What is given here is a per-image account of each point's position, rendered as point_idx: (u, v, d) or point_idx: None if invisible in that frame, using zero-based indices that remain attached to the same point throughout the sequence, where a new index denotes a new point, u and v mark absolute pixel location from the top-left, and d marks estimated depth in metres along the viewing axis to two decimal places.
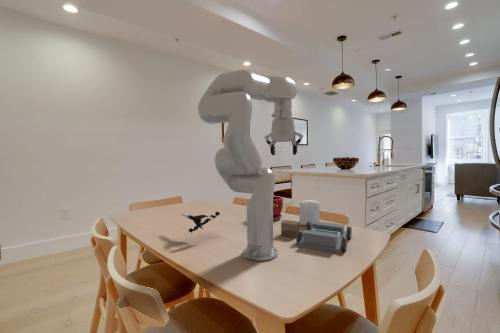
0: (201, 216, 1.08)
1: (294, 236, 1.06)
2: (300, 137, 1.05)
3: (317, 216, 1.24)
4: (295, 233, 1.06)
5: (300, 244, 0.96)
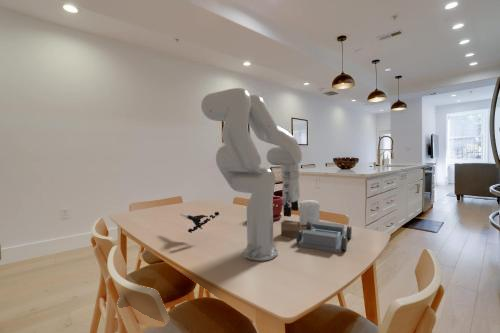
0: (200, 216, 1.08)
1: (294, 236, 1.06)
2: None
3: (317, 216, 1.24)
4: (295, 233, 1.06)
5: (300, 244, 0.96)
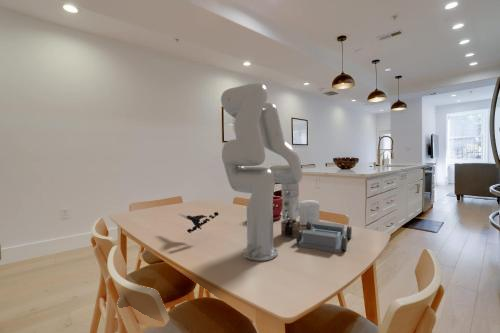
0: (200, 216, 1.07)
1: (294, 236, 1.06)
2: None
3: (317, 216, 1.24)
4: (295, 233, 1.06)
5: (300, 244, 0.96)
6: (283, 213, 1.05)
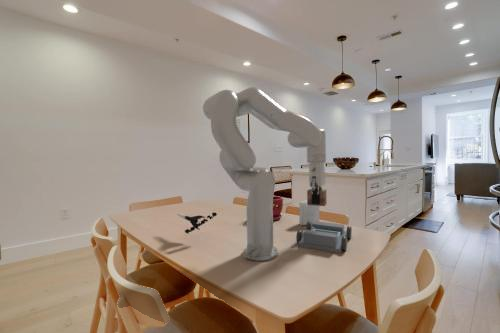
0: (198, 217, 1.07)
1: (322, 204, 1.00)
2: None
3: (317, 216, 1.24)
4: (323, 201, 1.00)
5: (300, 244, 0.96)
6: (310, 180, 0.99)
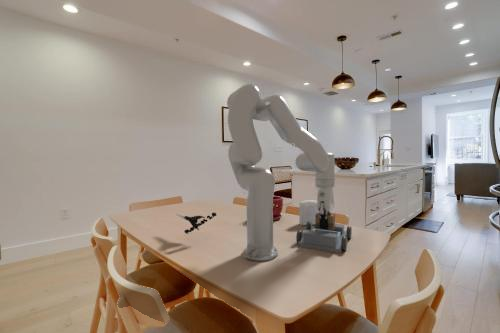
0: (197, 217, 1.06)
1: (330, 229, 0.98)
2: None
3: None
4: (331, 226, 0.98)
5: (300, 244, 0.96)
6: (319, 204, 0.97)
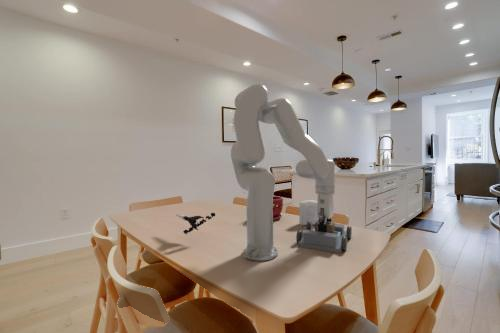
0: (196, 217, 1.06)
1: None
2: None
3: (317, 216, 1.24)
4: None
5: (300, 244, 0.96)
6: (318, 211, 0.98)
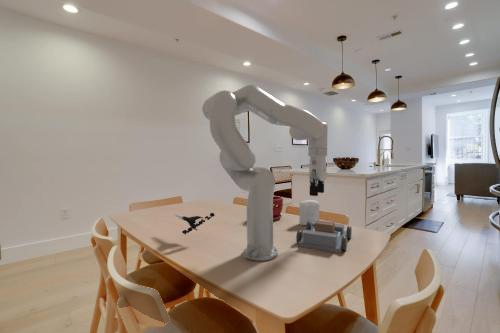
0: (195, 217, 1.06)
1: None
2: None
3: (317, 216, 1.24)
4: None
5: (300, 244, 0.96)
6: (310, 173, 0.98)
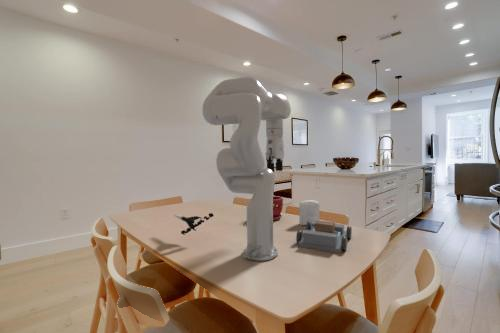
0: (194, 218, 1.05)
1: None
2: None
3: (317, 216, 1.24)
4: None
5: (300, 244, 0.96)
6: None
